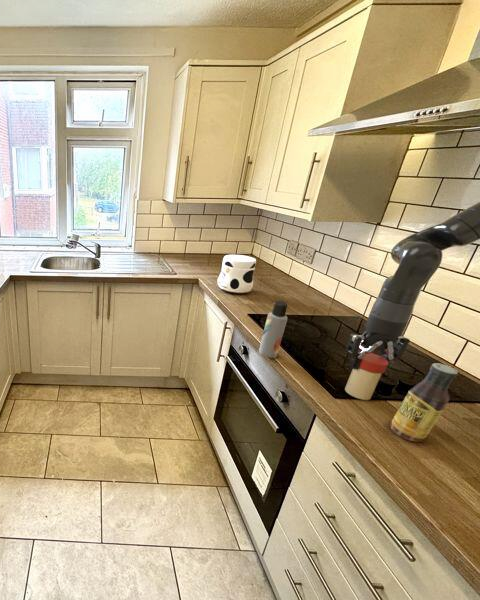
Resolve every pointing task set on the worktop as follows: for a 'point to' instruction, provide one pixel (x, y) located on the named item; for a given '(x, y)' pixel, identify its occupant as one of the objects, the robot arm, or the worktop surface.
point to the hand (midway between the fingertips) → (366, 368)
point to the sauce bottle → (424, 404)
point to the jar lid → (373, 363)
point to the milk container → (237, 274)
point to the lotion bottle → (274, 330)
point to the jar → (362, 383)
